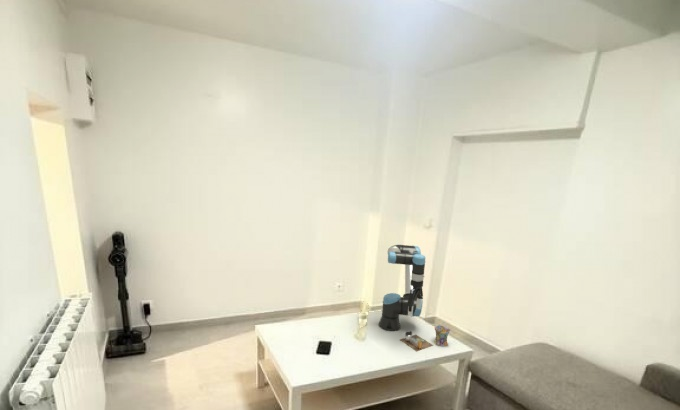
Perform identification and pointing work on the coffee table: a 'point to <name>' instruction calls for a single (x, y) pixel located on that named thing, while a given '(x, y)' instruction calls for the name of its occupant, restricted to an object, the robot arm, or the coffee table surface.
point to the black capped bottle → (412, 340)
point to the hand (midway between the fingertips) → (414, 312)
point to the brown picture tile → (424, 342)
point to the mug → (441, 336)
